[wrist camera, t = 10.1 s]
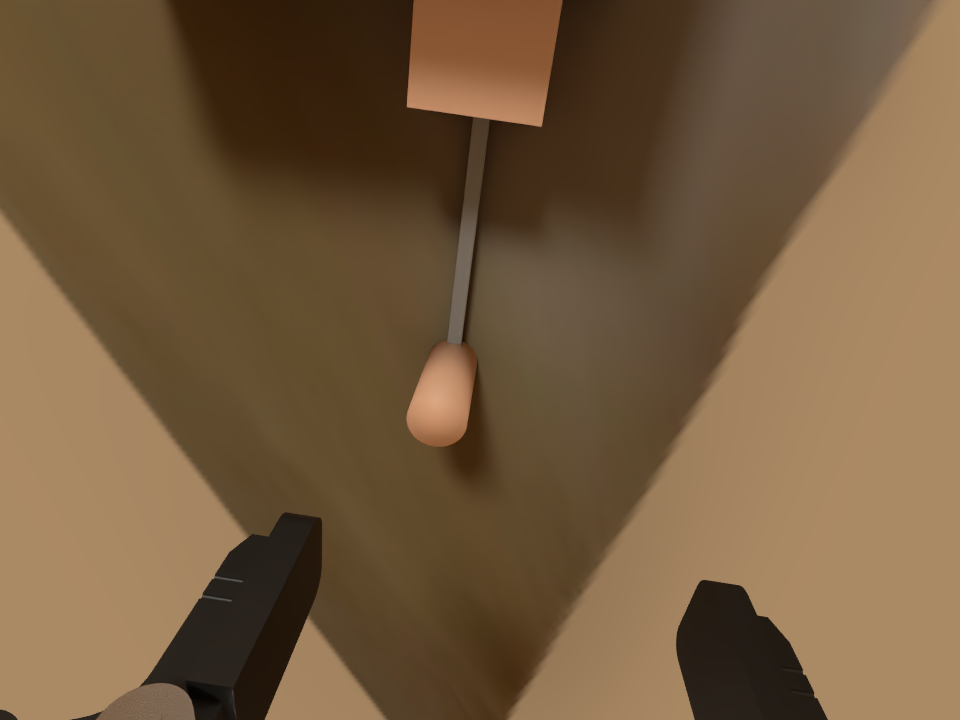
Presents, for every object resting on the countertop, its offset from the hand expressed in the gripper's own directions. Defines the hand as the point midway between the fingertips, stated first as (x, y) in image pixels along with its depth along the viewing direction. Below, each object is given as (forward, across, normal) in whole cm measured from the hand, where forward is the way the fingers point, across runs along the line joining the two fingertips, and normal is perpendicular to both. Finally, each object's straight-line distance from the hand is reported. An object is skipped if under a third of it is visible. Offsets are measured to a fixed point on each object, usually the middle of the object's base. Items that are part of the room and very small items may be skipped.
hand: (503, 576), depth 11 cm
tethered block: (+17, +3, -4) cm, 18 cm away
